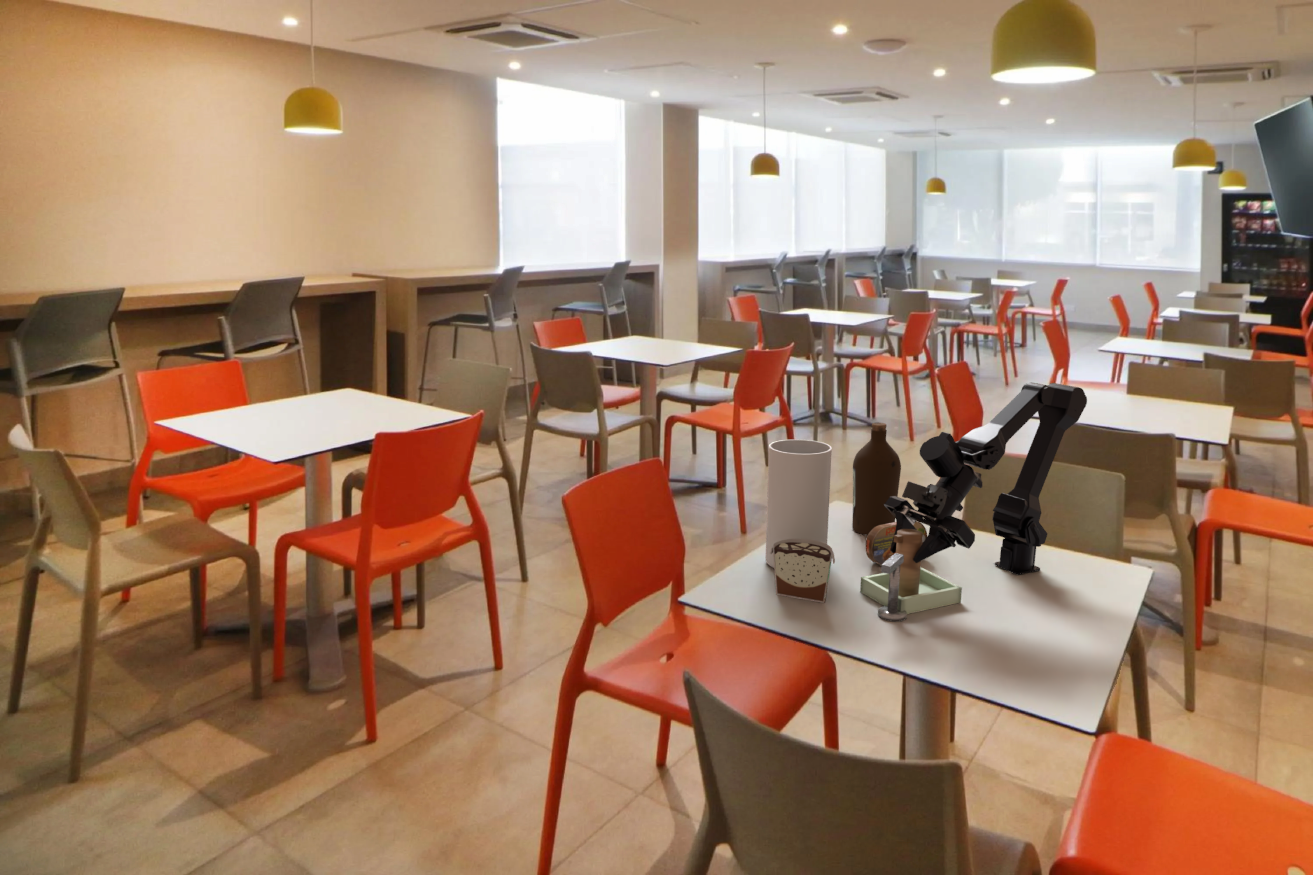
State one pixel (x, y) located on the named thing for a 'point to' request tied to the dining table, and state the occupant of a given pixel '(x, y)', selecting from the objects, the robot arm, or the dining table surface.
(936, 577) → the tray
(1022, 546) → the robot arm
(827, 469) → the cylinder vase
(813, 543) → the food container
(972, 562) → the dining table surface
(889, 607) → the t stake
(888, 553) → the tin
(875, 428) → the olive oil
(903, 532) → the brown coffee tumbler
